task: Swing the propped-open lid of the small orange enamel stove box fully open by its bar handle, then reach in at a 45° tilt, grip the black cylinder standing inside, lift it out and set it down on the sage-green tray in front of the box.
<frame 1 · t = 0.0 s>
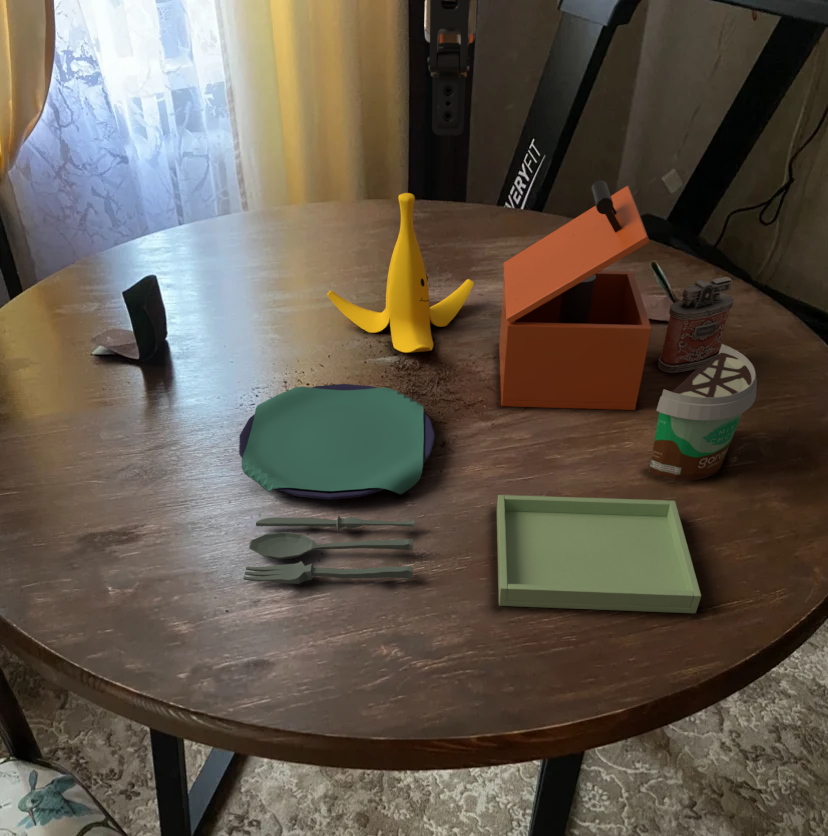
hand: (449, 116, 62), 33 cm above the table, tool pointing down, fingers open, 8 cm apart
lighter: (687, 363, 99), on the table
banana peel: (390, 327, 106), on the table
food container: (699, 465, 84), on the table
box lid: (560, 238, 86), point 16 cm above the table, hinge at 35.0°
black cylinder: (567, 365, 97), point 1 cm above the table, touching stove box
tray: (589, 559, 74), on the table
stove box: (563, 376, 97), on the table
cutlery set: (334, 482, 83), on the table
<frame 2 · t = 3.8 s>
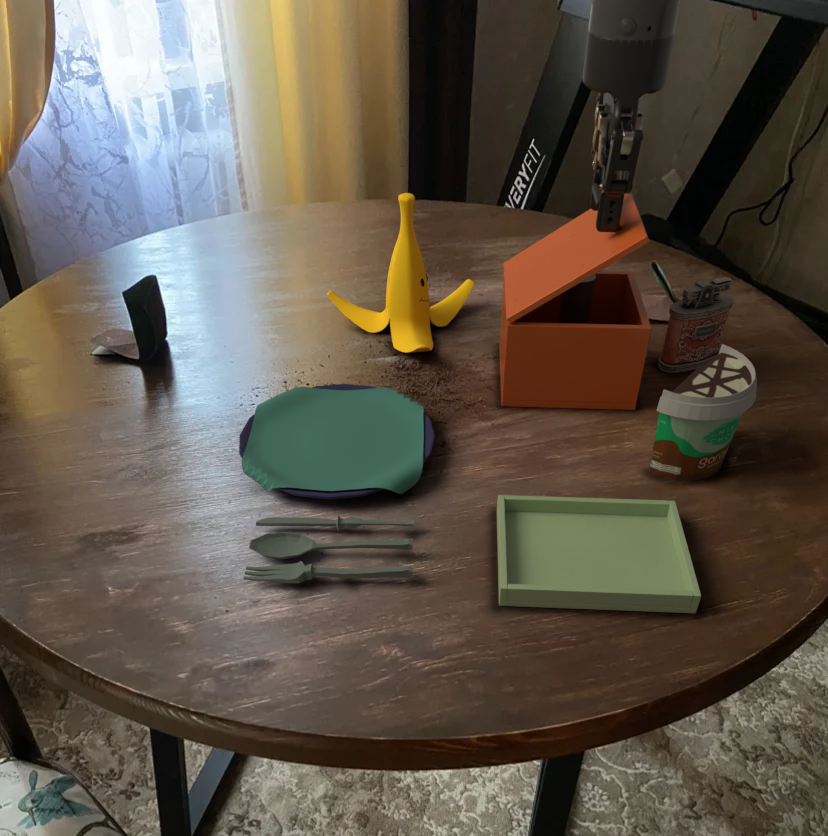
hand: (603, 219, 85), 18 cm above the table, tool pointing down, fingers closed on box lid, 5 cm apart
box lid: (560, 238, 86), point 16 cm above the table, hinge at 35.0°, touching gripper
everything else where it was.
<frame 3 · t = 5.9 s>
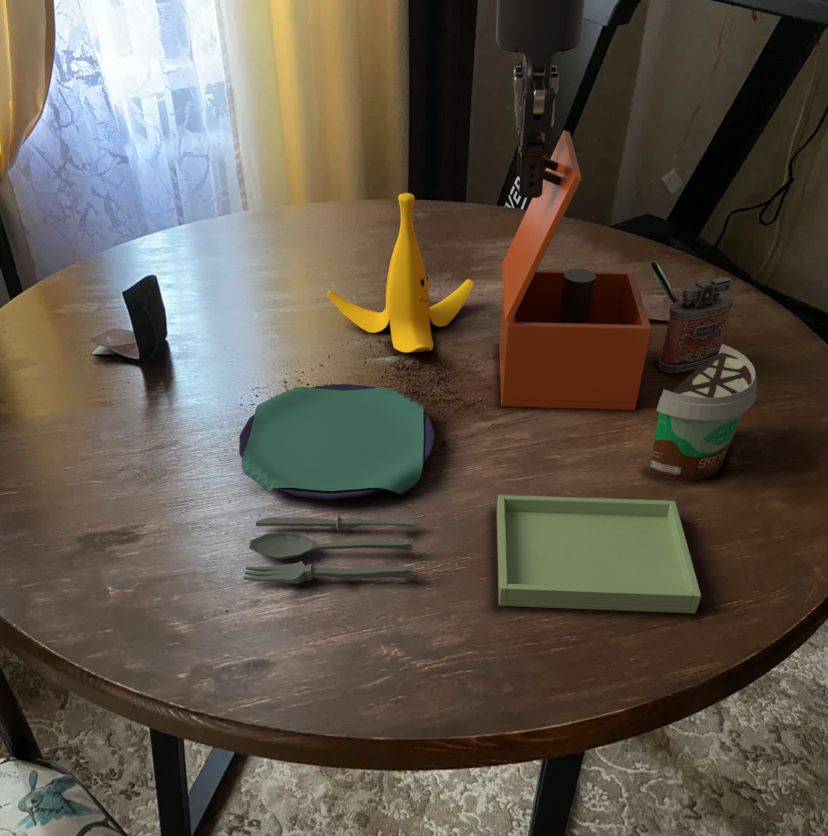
hand: (529, 185, 83), 21 cm above the table, tool pointing down, fingers closed on box lid, 5 cm apart
box lid: (520, 219, 85), point 18 cm above the table, hinge at 69.7°, touching gripper
everything else where it was.
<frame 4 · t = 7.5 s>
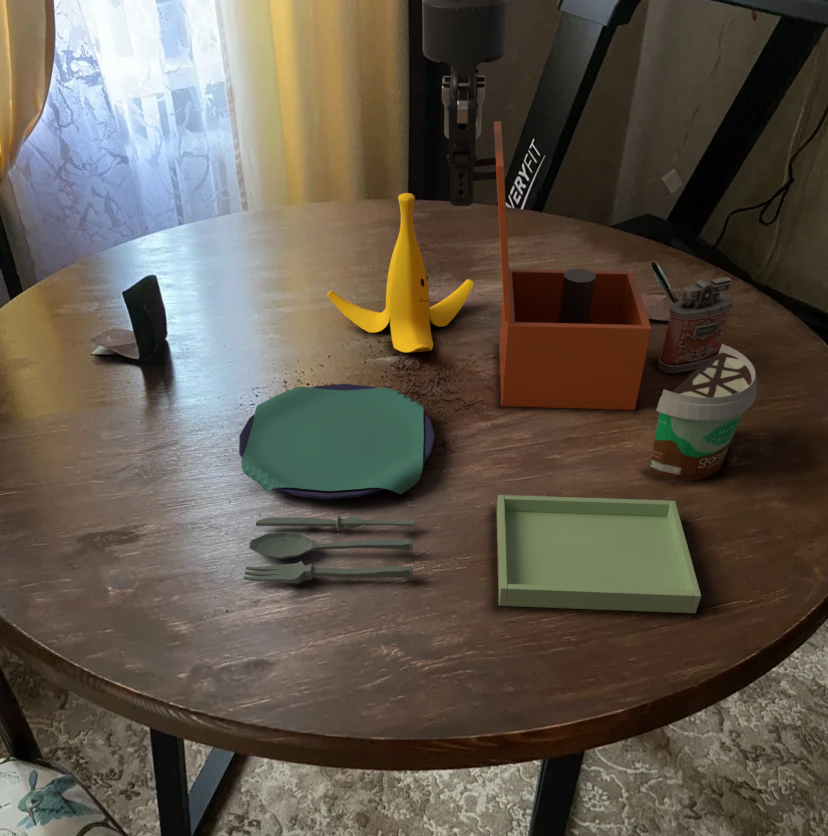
hand: (461, 193, 84), 21 cm above the table, tool pointing down, fingers closed on box lid, 5 cm apart
box lid: (484, 223, 86), point 18 cm above the table, hinge at 96.6°, touching gripper
everything else where it was.
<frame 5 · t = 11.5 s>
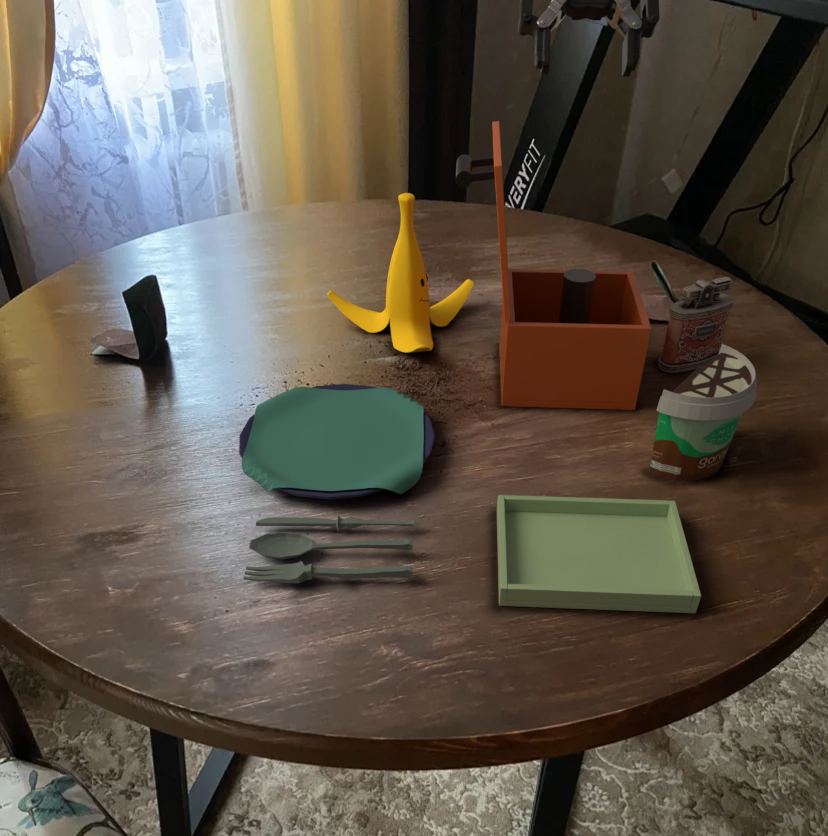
hand: (586, 71, 87), 29 cm above the table, tool tilted 45°, fingers open, 8 cm apart
box lid: (483, 223, 86), point 18 cm above the table, hinge at 97.3°
everything else where it was.
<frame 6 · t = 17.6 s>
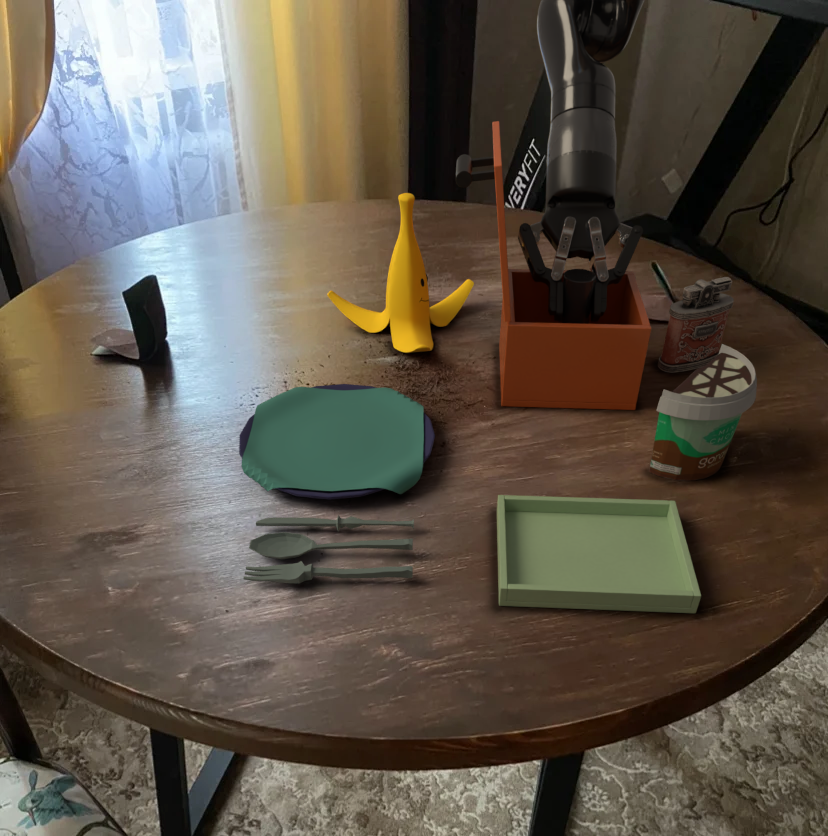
hand: (577, 318, 91), 8 cm above the table, tool tilted 45°, fingers closed on black cylinder, 3 cm apart
black cylinder: (567, 365, 97), point 1 cm above the table, touching gripper, stove box
everything else where it was.
when the fingers open (8 cm above the table, at t = 28.4 s): black cylinder stays where it is, resting on tray.
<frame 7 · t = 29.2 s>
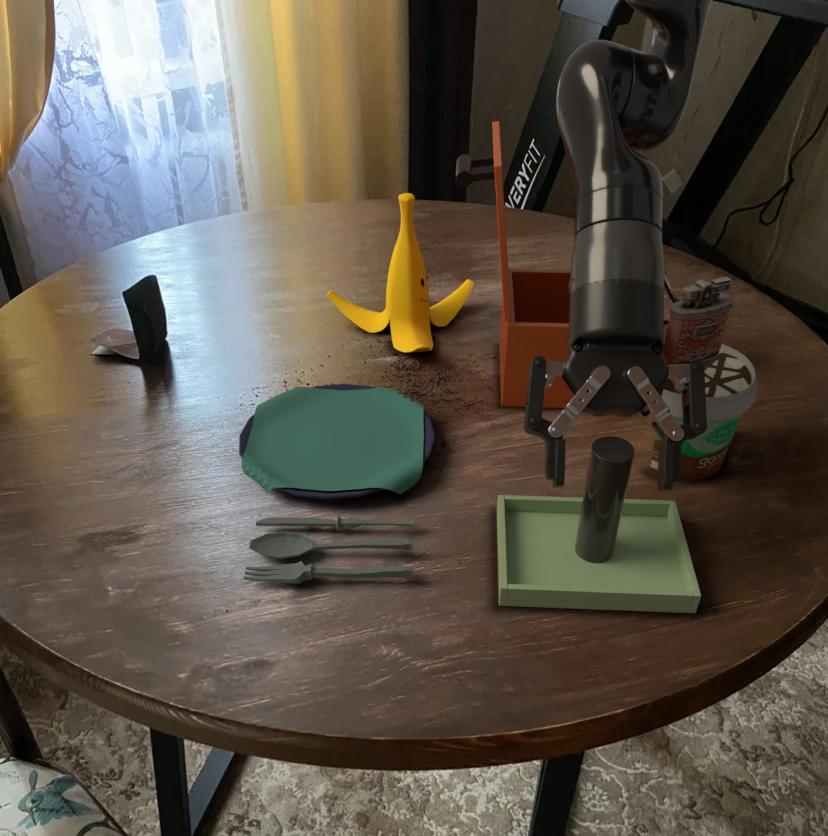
hand: (611, 488, 68), 9 cm above the table, tool tilted 45°, fingers open, 8 cm apart
black cylinder: (593, 550, 74), point 1 cm above the table, touching tray
everything else where it was.
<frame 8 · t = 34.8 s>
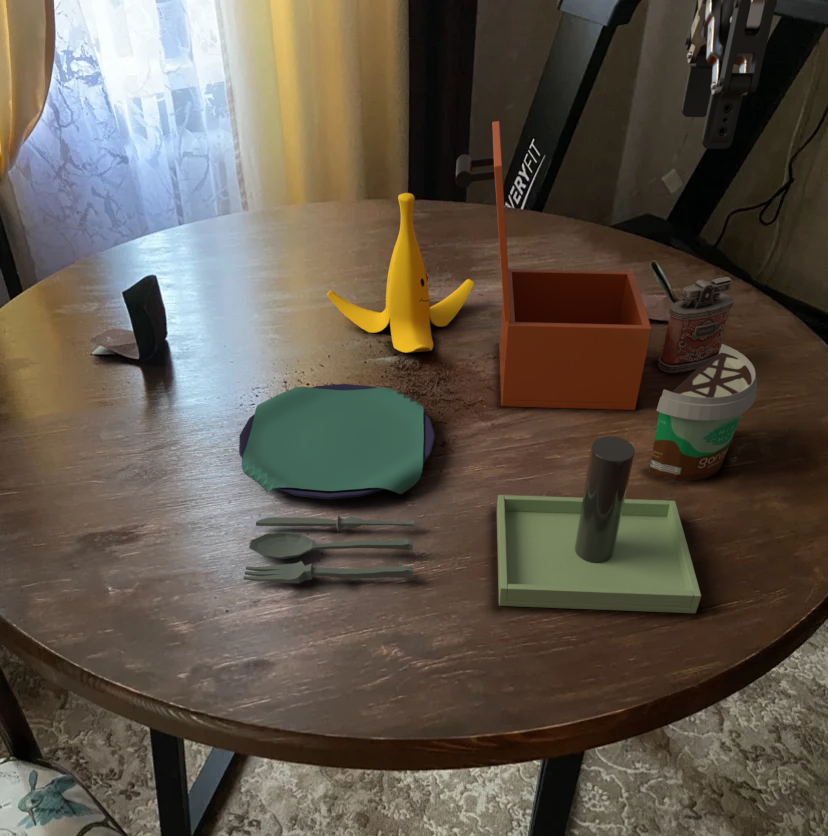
hand: (703, 130, 68), 30 cm above the table, tool pointing down, fingers open, 8 cm apart
nothing on the table moved.
at the end: box lid at +97° (first picture: +35°); black cylinder inside the target area in the tray (0.7 cm from its centre), point 0.6 cm above the tray's base; black cylinder tilted 0° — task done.
